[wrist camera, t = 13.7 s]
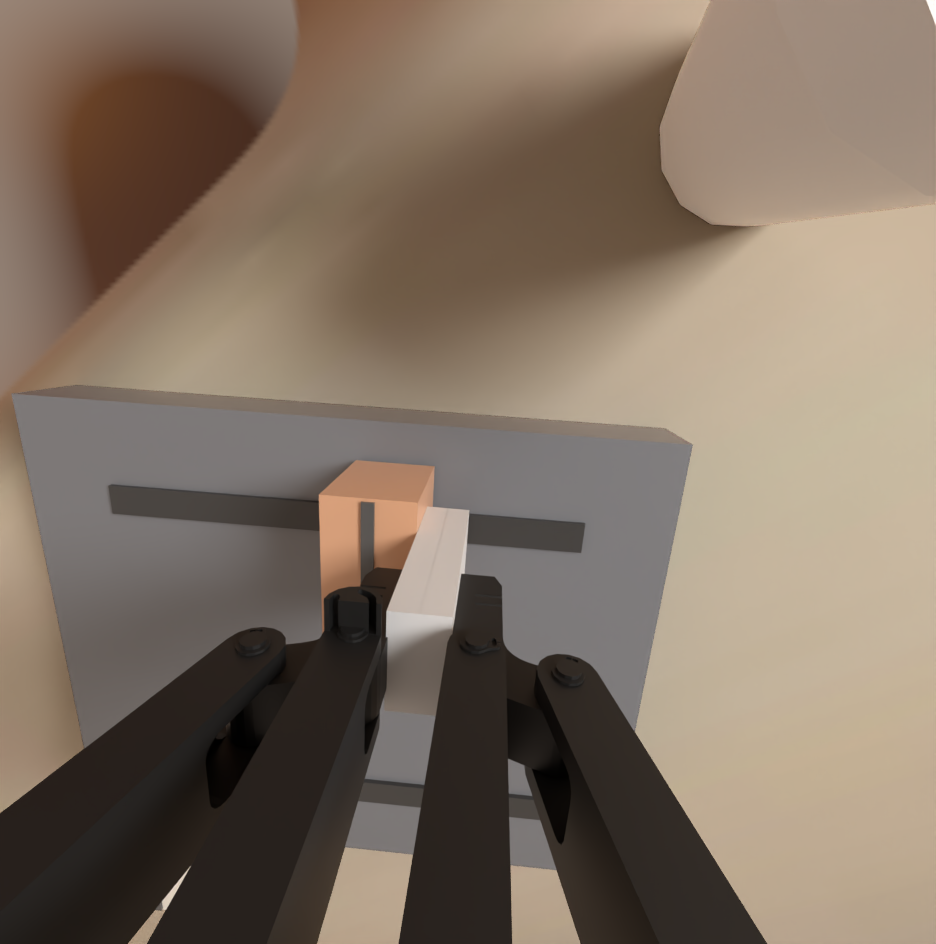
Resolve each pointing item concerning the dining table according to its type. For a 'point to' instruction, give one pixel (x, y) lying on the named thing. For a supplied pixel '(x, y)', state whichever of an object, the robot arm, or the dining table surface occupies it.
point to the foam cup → (804, 111)
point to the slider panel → (298, 547)
